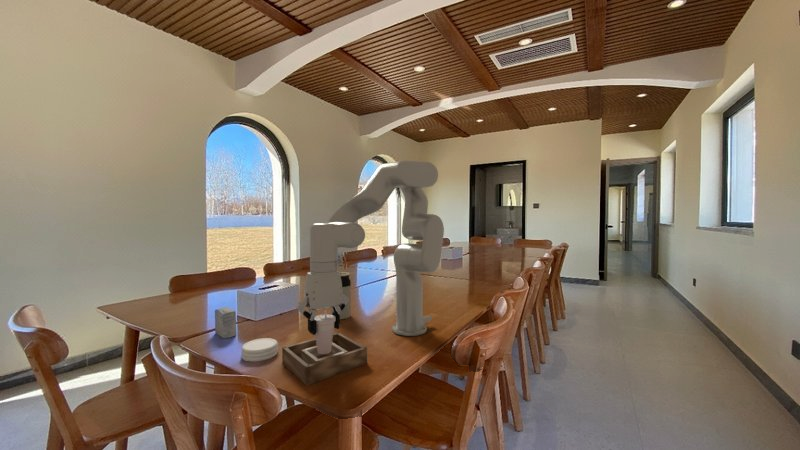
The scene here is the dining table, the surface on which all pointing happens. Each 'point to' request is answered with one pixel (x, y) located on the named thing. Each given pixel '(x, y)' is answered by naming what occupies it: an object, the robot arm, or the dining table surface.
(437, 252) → the robot arm
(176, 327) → the dining table surface
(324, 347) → the smoothie
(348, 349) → the walnut box
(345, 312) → the travel mug
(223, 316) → the medicine box
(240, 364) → the dining table surface
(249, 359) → the coaster
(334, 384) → the dining table surface
